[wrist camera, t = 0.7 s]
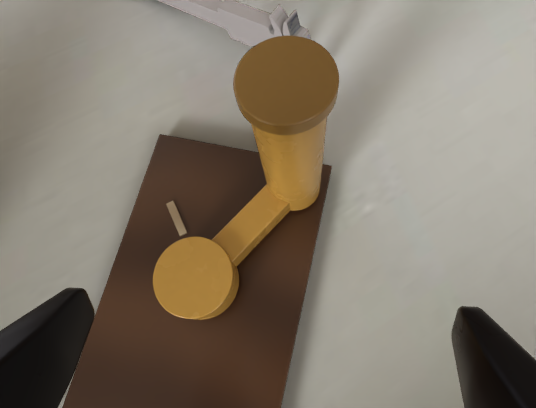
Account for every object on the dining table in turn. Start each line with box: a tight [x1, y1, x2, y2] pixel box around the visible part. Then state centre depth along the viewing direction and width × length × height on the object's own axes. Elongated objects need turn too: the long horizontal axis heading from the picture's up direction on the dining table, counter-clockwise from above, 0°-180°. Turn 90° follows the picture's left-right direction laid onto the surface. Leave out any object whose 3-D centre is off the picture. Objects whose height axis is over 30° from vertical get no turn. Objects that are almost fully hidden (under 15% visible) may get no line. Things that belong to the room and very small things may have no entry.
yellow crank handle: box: [153, 36, 339, 320], centre depth 19 cm, size 12×4×11 cm, turn 136°
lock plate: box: [63, 134, 332, 408], centre depth 24 cm, size 18×12×1 cm, turn 166°
